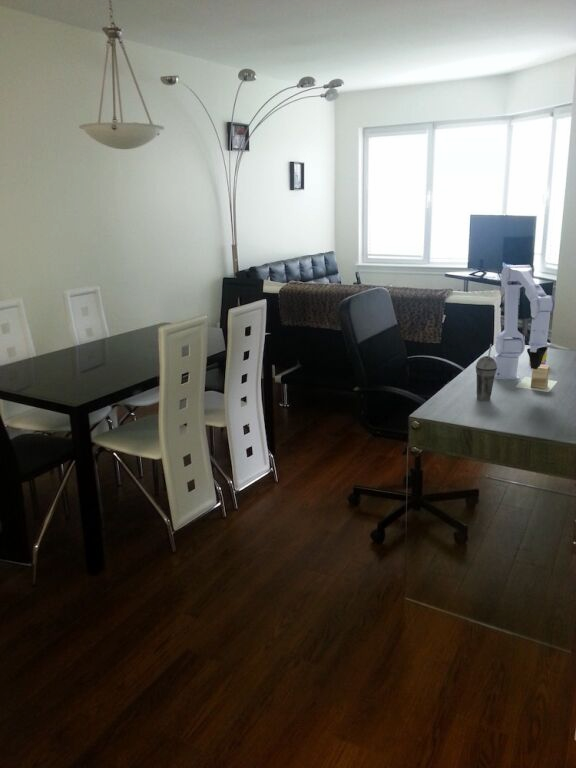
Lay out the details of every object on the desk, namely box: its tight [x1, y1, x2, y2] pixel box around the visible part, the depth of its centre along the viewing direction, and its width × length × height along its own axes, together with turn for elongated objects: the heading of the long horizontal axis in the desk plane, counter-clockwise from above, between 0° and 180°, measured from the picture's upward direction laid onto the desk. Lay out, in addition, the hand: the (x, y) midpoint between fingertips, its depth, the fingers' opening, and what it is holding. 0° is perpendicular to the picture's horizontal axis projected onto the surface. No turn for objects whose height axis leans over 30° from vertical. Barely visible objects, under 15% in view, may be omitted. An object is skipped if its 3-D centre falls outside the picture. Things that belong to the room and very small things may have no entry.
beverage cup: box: [475, 343, 497, 402], centre depth 216 cm, size 7×7×20 cm
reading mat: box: [515, 376, 558, 393], centre depth 234 cm, size 16×12×1 cm
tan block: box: [531, 364, 551, 389], centre depth 230 cm, size 5×5×8 cm
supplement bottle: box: [528, 341, 549, 365], centre depth 260 cm, size 7×7×13 cm
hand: (535, 367), depth 219 cm, fingers open, 3 cm apart
